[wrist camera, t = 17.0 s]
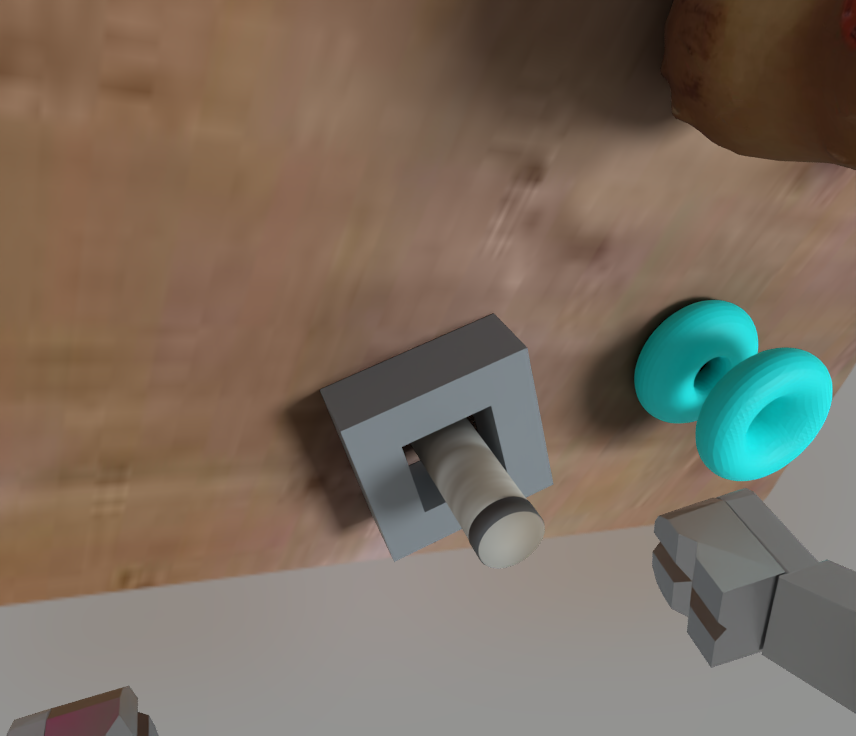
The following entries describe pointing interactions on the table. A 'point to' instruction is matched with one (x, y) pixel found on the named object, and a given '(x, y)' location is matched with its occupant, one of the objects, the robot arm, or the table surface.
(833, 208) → the table surface
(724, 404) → the donuts
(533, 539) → the peg
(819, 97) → the butternut squash
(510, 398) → the socket
